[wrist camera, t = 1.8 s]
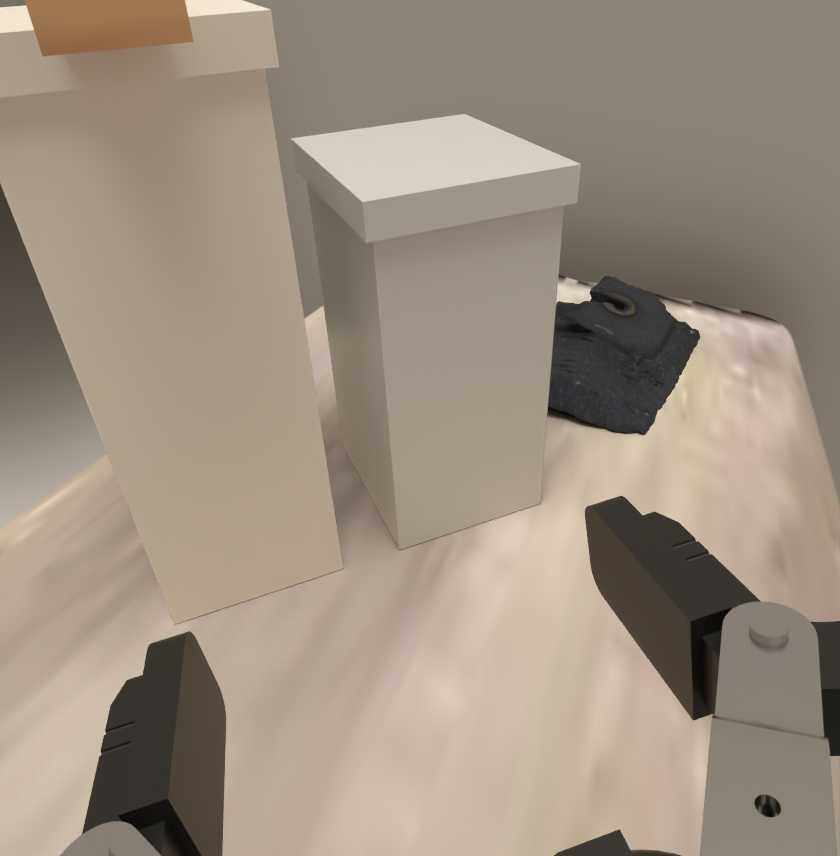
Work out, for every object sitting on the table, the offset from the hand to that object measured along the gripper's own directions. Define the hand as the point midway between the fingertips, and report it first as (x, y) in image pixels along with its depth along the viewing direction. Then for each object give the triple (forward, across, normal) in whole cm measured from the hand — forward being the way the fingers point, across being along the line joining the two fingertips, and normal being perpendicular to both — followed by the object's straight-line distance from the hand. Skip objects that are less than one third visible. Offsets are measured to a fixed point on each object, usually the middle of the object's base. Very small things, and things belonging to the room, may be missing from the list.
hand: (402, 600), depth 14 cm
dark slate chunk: (+47, -25, +20) cm, 57 cm away
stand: (+33, +9, +17) cm, 38 cm away
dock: (+35, -6, +19) cm, 40 cm away
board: (+23, +4, -13) cm, 27 cm away
